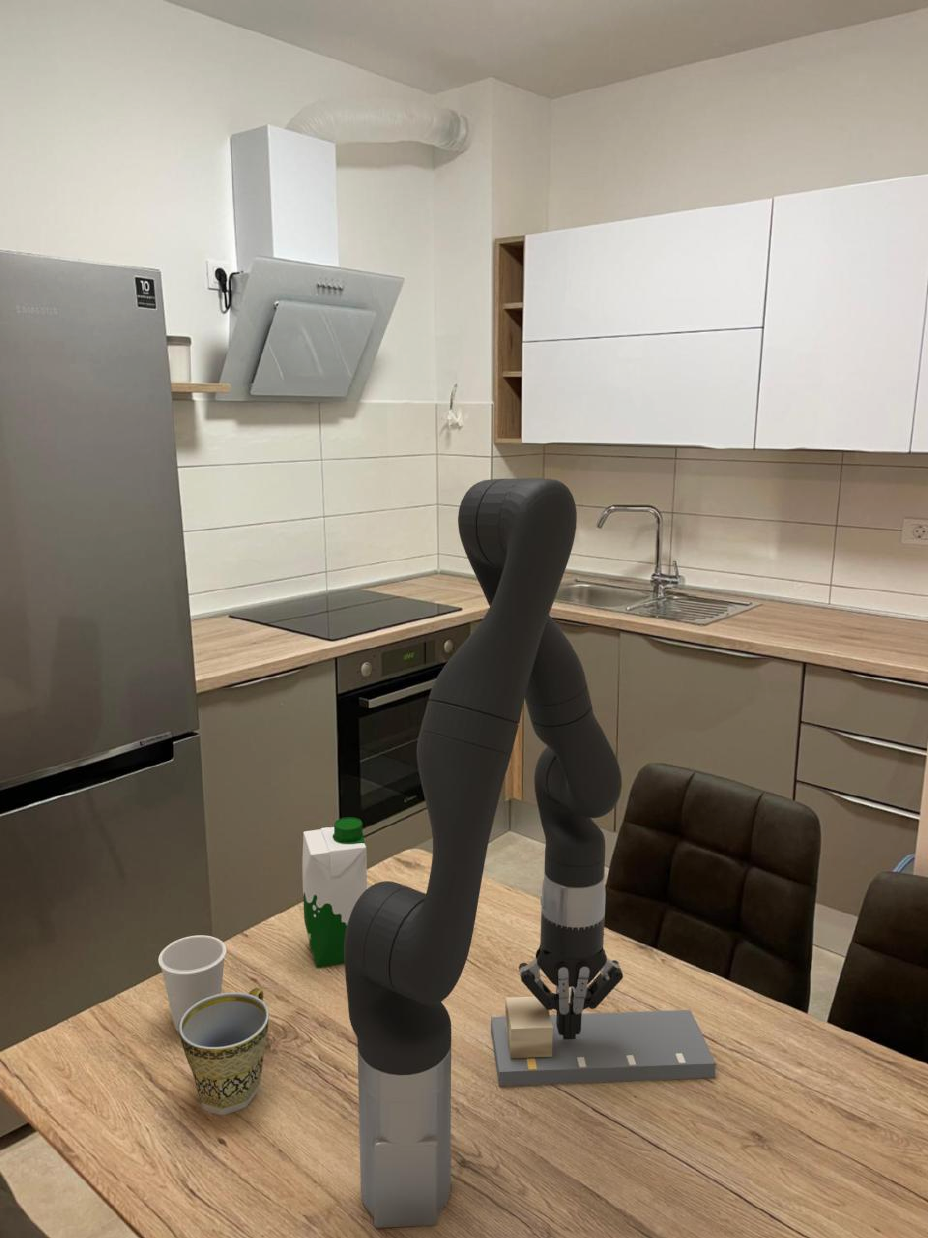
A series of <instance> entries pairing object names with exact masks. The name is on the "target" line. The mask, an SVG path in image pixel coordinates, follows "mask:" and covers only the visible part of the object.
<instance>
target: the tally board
mask: <svg viewBox="0 0 928 1238" xmlns="http://www.w3.org/2000/svg"><path fill="white" fill-rule="evenodd" d="M550 1018H551V1022H552V1026H553V1039H552V1057H530V1058H510V1052H509V1046H508V1040H507V1034H506V1028H505V1016H490V1033H491V1034H490V1035H491V1040H492V1047H493V1055H494V1062H495V1068H496V1076H497V1083H498V1087H500V1088H501V1087H517V1086H518V1087H520V1086H521V1087H522V1086H525V1087H526V1086H545V1085H546V1086H547V1085H570V1084H573V1085H575V1084H590V1083H591V1084H592V1083H593V1084H594V1083H596V1084H597V1083H618V1082H620V1083H621V1082H638V1081H639V1082H643V1081H666V1080H667V1081H668V1080H690V1079H691V1080H693V1079H714V1078H716V1069H717V1068H716V1067H717V1065H716V1064H717V1063H716V1061H715V1058H714V1057H713V1056H714V1055H713V1054H712V1052H711V1050H710V1048H709V1046H708V1044H707V1042H706V1040H705V1037H704V1035H703V1033H702V1031H701V1029H700V1027H699V1025H698V1023H697V1021H696V1018H695V1016H694V1014H693V1012H692V1010H691V1009H677V1010H654V1011H653V1010H648V1011H624V1012H623V1011H622V1012H621V1011H620V1012H598V1013H597V1012H595V1013H593V1012H592V1013H582V1015H581V1031H580V1033H579V1034H576V1038H575V1039H563V1035H559V1033H558V1029H557V1025H556V1014H550Z"/></svg>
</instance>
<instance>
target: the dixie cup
mask: <svg viewBox="0 0 928 1238" xmlns="http://www.w3.org/2000/svg"><path fill="white" fill-rule="evenodd" d="M226 955H227V946H226V945H225V943H224V942H223V941H222V940H221V939H219V938H217V937H214V936H211V935H201V934H199V935H190V936H186V937H182V938H180V939H177V940H175V941H173V942H171V943H169V944H168V945H167V946H165V948H163V949H162V950H161V952H160V954H159V956H158V964H159V967H160V968H161V972H162V976H163V980H164V986H165V989H166V994H167V999H168V1003H169V1008H170V1013H171V1017H172V1020H173V1021H172V1022H173V1025H174V1029H175V1031H176V1032H177V1033H179V1029H178V1027H179V1022H180V1019H181V1017H182V1016H183V1014H184V1013H185V1012H186V1011H187V1010H188V1009H189V1008H190V1007H191V1006H193V1005H194V1004H196V1003H197V1002H199V1001H201V1000H203V999H205V998H208V997H210V996H213V995H217V994H222V991H223V978H224V966H225V958H226Z"/></svg>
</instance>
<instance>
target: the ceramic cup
mask: <svg viewBox="0 0 928 1238" xmlns="http://www.w3.org/2000/svg"><path fill="white" fill-rule="evenodd" d="M269 1011H270V1010H269V1008H268V1007H267V1005H266V1003H265V1002H264V992H263V989H261V988H258V987H255V988H253V989H251V991H249V992H248V993H244V992H238V991H237V992H233V991H232V992H223V993H221V994H217V995H213V996H210V997H208V998H205V999H203V1000H201V1001H199V1002H197V1003H196V1004H194V1005H193V1006H191V1007H190V1008H189V1009H188V1010H187V1011H186V1012H185V1013H184V1014H183V1016H182V1017H181V1019H180V1022H179V1027H178V1029H179V1032H178V1034H179V1037H180V1043H181V1045H182V1049H183V1052H184V1055H185V1058H186V1060H187V1063H188V1065H189V1068H190V1069H191V1072H192V1076H193V1078H194V1082H195V1087H196V1091H197V1094H198V1097H199V1101H200V1104H201V1108H202V1109H203V1111H205V1112H209V1113H212V1114H216V1115H219V1116H225V1115H228V1114H231V1113H235V1112H237V1111H241V1110H244V1109H246V1108H247V1106H249V1104H250V1103H251V1102H252V1100H254V1098H255V1096H257V1093H258V1091H259V1088H260V1082H261V1076H262V1069H263V1061H264V1056H265V1055H264V1054H265V1049H266V1044H267V1039H268V1032H269V1023H270V1022H269V1020H270V1019H269V1018H270V1012H269Z"/></svg>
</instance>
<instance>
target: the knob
mask: <svg viewBox="0 0 928 1238" xmlns="http://www.w3.org/2000/svg"><path fill="white" fill-rule="evenodd" d="M504 1006H505V1011H504V1012H505V1015H504V1017H505V1028H506V1034H507V1040H508V1046H509V1052H510V1058H530V1057H552V1039H553V1026H552V1022H551V1018H550V1015H551V1014H550V1010H547V1009H546V1008H545V1007H544V1006H543V1005H542V1004H541V1003H540V1002H539V1000H538V999H537V998H536V997H535V996H514V997H513V996H512V997H511V996H510V997H509V996H508V997H505V1005H504Z"/></svg>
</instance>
